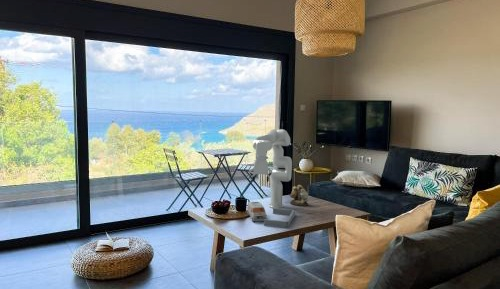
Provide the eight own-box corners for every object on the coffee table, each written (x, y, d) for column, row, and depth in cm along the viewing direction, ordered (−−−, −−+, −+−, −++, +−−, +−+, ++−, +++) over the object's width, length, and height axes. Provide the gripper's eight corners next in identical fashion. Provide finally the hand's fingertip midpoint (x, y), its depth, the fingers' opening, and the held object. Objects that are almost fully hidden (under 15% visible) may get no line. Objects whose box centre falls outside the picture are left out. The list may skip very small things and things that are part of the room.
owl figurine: (286, 204, 319) (286, 184, 318) (292, 201, 329) (293, 182, 327) (305, 207, 309) (305, 187, 307) (311, 204, 318) (311, 185, 317)
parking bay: (273, 213, 291) (273, 208, 291) (294, 214, 287) (294, 209, 286) (264, 225, 260) (264, 219, 260) (287, 227, 256) (288, 222, 256)
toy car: (253, 223, 265) (253, 209, 264) (246, 213, 289) (247, 201, 288) (267, 222, 267) (267, 209, 266) (260, 213, 291) (260, 200, 290)
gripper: (272, 157, 269) (271, 181, 271) (248, 157, 269) (248, 180, 270) (273, 159, 262) (272, 183, 263) (249, 159, 261) (248, 182, 263)
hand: (260, 181), depth 267 cm, fingers open, 9 cm apart
